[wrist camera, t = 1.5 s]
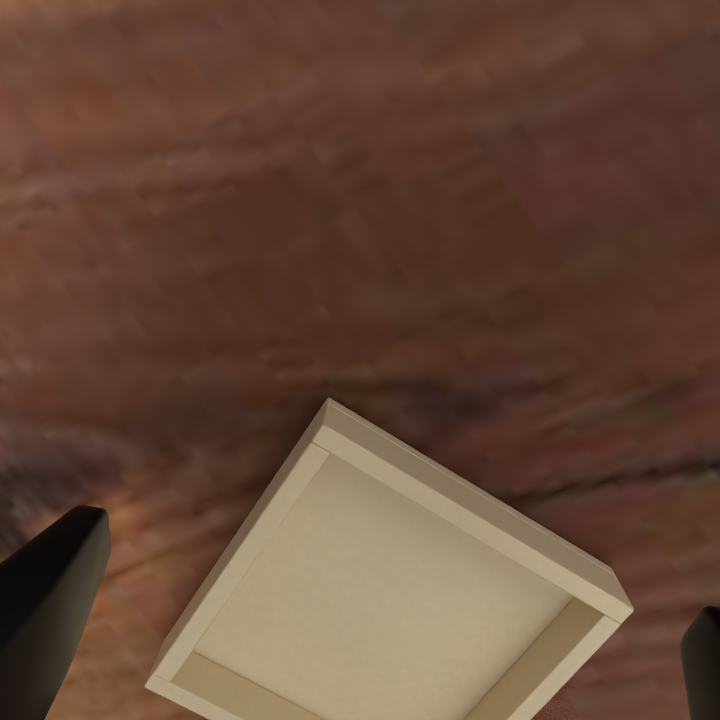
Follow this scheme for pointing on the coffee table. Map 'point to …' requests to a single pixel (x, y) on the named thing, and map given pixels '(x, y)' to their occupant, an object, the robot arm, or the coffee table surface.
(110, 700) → the coffee table surface
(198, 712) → the tray
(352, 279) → the coffee table surface
